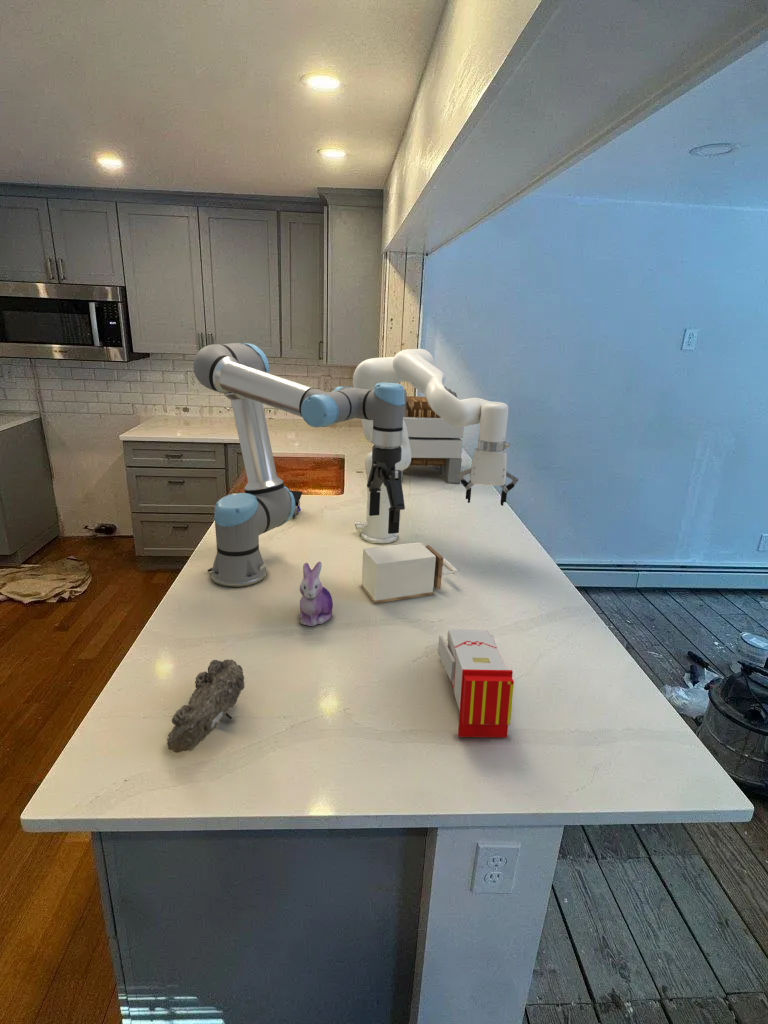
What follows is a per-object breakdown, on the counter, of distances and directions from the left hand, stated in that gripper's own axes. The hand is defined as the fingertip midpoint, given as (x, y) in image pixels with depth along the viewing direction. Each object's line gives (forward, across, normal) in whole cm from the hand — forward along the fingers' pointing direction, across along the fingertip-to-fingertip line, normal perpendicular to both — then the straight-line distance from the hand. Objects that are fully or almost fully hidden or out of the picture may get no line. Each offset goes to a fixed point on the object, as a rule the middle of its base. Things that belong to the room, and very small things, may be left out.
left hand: (383, 523), depth 151 cm
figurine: (+21, -8, +21) cm, 30 cm away
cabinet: (+21, 0, -5) cm, 21 cm away
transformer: (+21, +108, -64) cm, 127 cm away
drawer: (+20, 0, -11) cm, 23 cm away
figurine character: (+21, +68, +9) cm, 71 cm away
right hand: (-1, +4, -34) cm, 35 cm away
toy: (+21, -46, -2) cm, 51 cm away
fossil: (+21, -37, +49) cm, 65 cm away
